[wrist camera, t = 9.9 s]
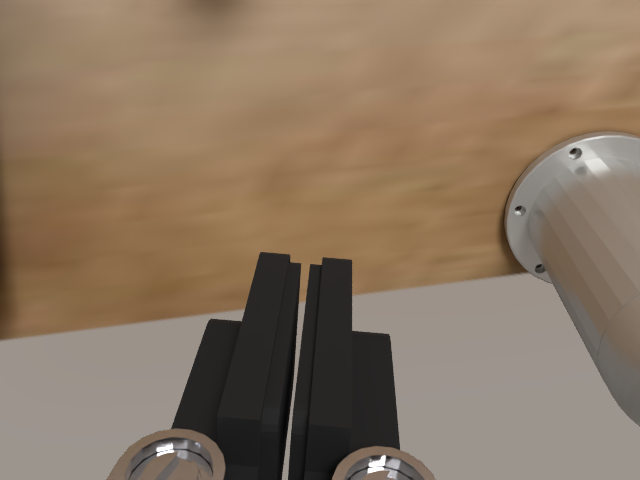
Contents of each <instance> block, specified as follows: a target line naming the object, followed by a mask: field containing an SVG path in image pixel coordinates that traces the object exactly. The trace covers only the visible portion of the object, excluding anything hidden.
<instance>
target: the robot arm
mask: <svg viewBox="0 0 640 480" xmlns="http://www.w3.org/2000/svg"><path fill="white" fill-rule="evenodd" d="M573 148H575V149H574V151H572V152H570V151H571V150H572V149H573ZM517 206H520V207H519V208H516V207H517ZM504 225H505V233H506V237H507V240H508V243H509V245H510V248H511V250H512V252H513V254H514V255H515V257H516V259H517V260H518V261H519V263H520V264H521V265H522V266H523V267H524V268H525V269H526V270H527V271H528V272H530V273H531V274H532V275H534V276H535V277H537V278H539V279H542V280H544V281H546V282H548V283H552V284H553V285H554V287H555V289H556V290H557V292H558V294H559V296H560V298H561V300H562V302H563V304H564V306H565V308H566V310H567V312H568V313H569V315H570V317H571V319H572V321H573V323H574V325H575V327H576V329H577V330H578V332H579V334H580V336H581V338H582V340H583V342H584V344H585V346H586V348H587V350H588V352H589V353H590V355H591V357H592V359H593V361H594V363H595V365H596V367H597V369H598V371H599V373H600V375H601V376H602V378H603V380H604V382H605V384H606V385H607V387H608V389H609V391H610V393H611V395H612V396H613V398H614V399H615V401H616V402H617V404H618V405H619V406H620V408H621V409H622V410H623V411H624V412H625V414H626V415H627V416H628V417H629V418H630V419H631V420H633V421H634V422H635V423H636V424H637V425H639V426H640V137H639V136H635V135H632V134H628V133H624V132H612V131H605V132H594V133H588V134H584V135H581V136H577V137H573V138H571V139H568V140H566V141H564V142H562V143H560V144H557V145H555V146H554V147H552V148H551V149H549V150H548V151H546V152H545V153H543V154H542V155H540V156H539V157H538V158H537V159H536V160H535V161H534V162H532V163H531V164H530V165H529V166H528V167H527V168H526V170H525V171H524V172H523V173H522V175H521V176H520V177H519V178H518V180H517V182H516V183H515V185H514V187H513V189H512V191H511V193H510V195H509V198H508V202H507V205H506V208H505V218H504ZM300 274H301V263H291V262H290V255H289V254H277V253H265V252H261V253H260V255H259V259H258V262H257V266H256V270H255V274H254V278H253V281H252V285H251V289H250V293H249V297H248V300H247V304H246V308H245V312H244V316H243V319H242V321H231V320H218V319H210V320H209V322H208V324H207V326H206V329H205V332H204V335H203V338H202V341H201V344H200V347H199V349H198V352H197V355H196V358H195V361H194V364H193V367H192V370H191V373H190V376H189V378H188V381H187V384H186V387H185V390H184V393H183V396H182V399H181V402H180V405H179V408H178V410H177V413H176V416H175V419H174V422H173V425H172V428H171V429H169V430H163V431H158V432H155V433H153V434H150V435H148V436H145V437H143V438H141V439H140V440H138V441H137V442H136V443H134V444H133V445H131V446H130V447H129V448H128V449H127V451H126V452H125V453H124V454H123V455H122V456H121V457H120V459H119V460H118V461H117V463H116V465H115V466H114V468H113V470H112V471H111V473H110V475H109V476H108V478H107V479H106V480H282V472H283V464H284V456H285V448H286V439H287V431H288V423H289V415H290V406H291V399H292V390H293V379H294V365H295V350H296V335H297V320H298V304H299V289H300ZM393 375H394V374H393V362H392V352H391V341H390V336H389V334H382V333H370V332H358V331H352V260H347V259H336V258H324V257H323V259H322V265H314V264H310V271H309V280H308V288H307V297H306V305H305V314H304V323H303V331H302V340H301V349H300V357H299V367H298V374H297V383H296V392H295V401H294V409H293V419H292V431H291V445H290V459H289V474H288V480H435V478H434V475H433V474H432V473H431V471H430V470H429V469H428V468H427V467H426V466H425V465H424V464H423V463H422V462H421V461H419V460H418V459H416V458H415V457H413V456H412V455H410V454H409V453H406V452H404V451H401V450H400V443H399V432H398V420H397V409H396V397H395V387H394V376H393Z"/></svg>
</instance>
